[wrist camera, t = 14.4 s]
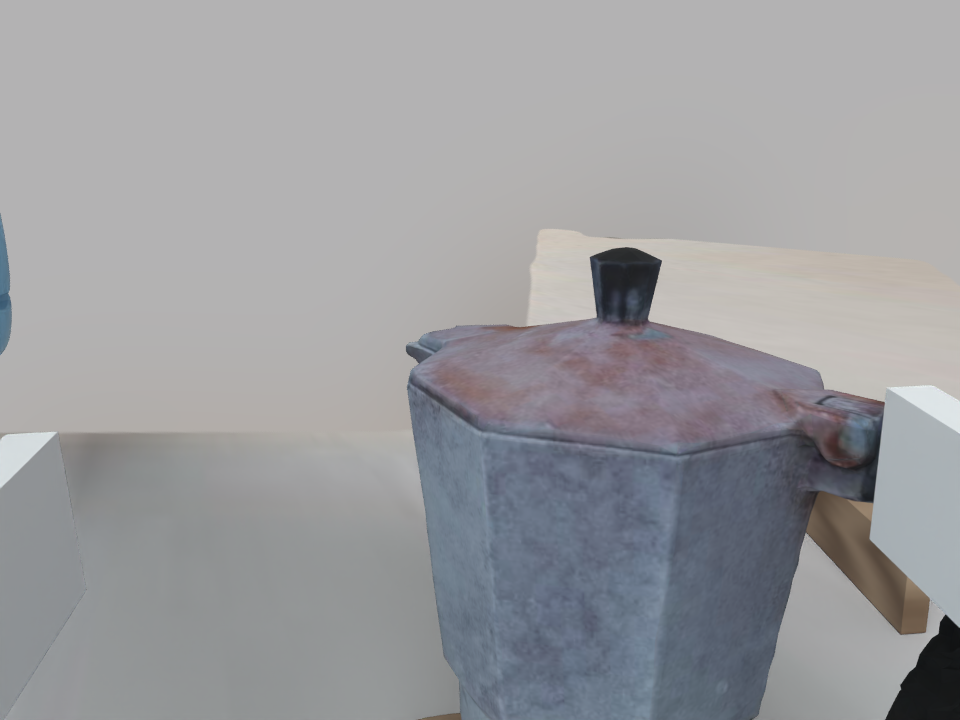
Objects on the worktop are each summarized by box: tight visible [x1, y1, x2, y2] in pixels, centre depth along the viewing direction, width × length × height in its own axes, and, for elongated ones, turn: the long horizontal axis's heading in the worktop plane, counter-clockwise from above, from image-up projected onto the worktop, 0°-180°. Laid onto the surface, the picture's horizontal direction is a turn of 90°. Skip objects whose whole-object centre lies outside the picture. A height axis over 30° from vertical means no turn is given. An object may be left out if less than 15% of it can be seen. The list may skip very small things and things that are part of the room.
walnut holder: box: [806, 491, 930, 634], centre depth 48 cm, size 17×18×4 cm
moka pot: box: [406, 247, 960, 720], centre depth 22 cm, size 10×15×20 cm, turn 54°
